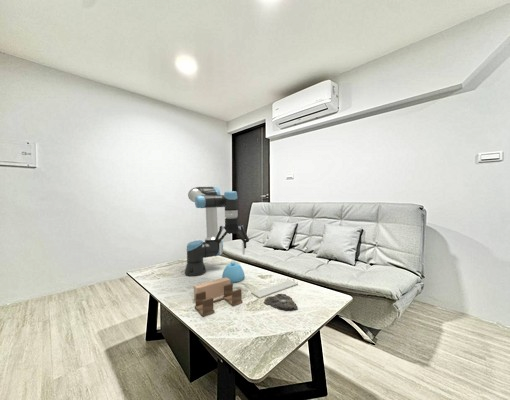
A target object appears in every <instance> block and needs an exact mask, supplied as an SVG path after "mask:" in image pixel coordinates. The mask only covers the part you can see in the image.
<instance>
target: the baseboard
mask: <svg viewBox="0 0 510 400" xmlns="http://www.w3.org/2000/svg"><path fill="white" fill-rule="evenodd" d="M298 285H299V283H298V282H296V281H295V279H292V278H291V279H287V280H285V281H282V282H280V283H276V284H273V285H270V286H267V287H263V288H261V289H258V290H254V291H251V292H250V294H251V295H253V296H254V297H256V298H258V299H260V300H261V299H263V298H267V297H269V296H272V295H274V294H276V293H277V294H278V293H279V292H282V291H284V290H287V289H291V288H293V286H294V287H297V286H298Z"/></svg>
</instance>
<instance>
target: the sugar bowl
mask: <svg viewBox="0 0 510 400" xmlns="http://www.w3.org/2000/svg"><path fill="white" fill-rule="evenodd" d="M242 267H243V266H241V264H239V263H237V262H235V261H231V262H230V263H227V265H225V268H224V269H223V272H222V275H221V276H222V277H221V278H225V277H227V278H229V279H230V284H231V283H232V284H234V283H238V282H239V283H240V282H241V281H242V280H244V278H245V271H244V269H243V268H242Z"/></svg>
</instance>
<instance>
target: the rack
mask: <svg viewBox="0 0 510 400" xmlns="http://www.w3.org/2000/svg"><path fill="white" fill-rule="evenodd" d="M233 285H234V283H230V284H228V285H224V295H223V296H222V297H221V298H218V299H217V298H216V299H215V300H214V298H209V299H206V292H205V291H203V292H200V293H196V294H195V296H196V301H195V305H194V309H195V310H196V311H197V312H198V314H200V315H201V317H202V318H203V317H204V318H205V317H206V316H210V315H211V314H215V313H216V312H215V309H214V304H215V303H218V302H221V301H225V302H226V303H227V304H229V305H230V306H232V307H234V306H237V305H240V304H243V301H244V300H243V298H242V297H243V296H242V288H238V289H236V290H235V289H234V286H233Z"/></svg>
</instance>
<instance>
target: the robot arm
mask: <svg viewBox="0 0 510 400" xmlns="http://www.w3.org/2000/svg"><path fill="white" fill-rule="evenodd" d="M187 196H188V199H189V201H190V202H193V203H194V204H195V208H196V209H205V221H206V225H205V226H206V238H204V241H203V240H200V239H199V240H194V241H190V242H189V243H187V245H186V267H185V269H184V275H185V274H186V275H185V276H187V275H188V277H199V276H202V275H204V274H206V273H207V270H206V266H205V263H204V258H205V259H206V258H210V257H218V256H221V255H222V254H223V251H224V243H223V239H224V238H225V237H226V236H227V235H230V234H233V235H235V234H236V235H237V236H238V238H239V239H240V240H241V241H242V246H241V247H242V255H245V253H246V249H247V243H249V242H250V239H249V236H248V235H247V233H246V231H245V228H244V227H245V226H244V225H239V218H238V216H239V214H238V213H239V210H238V206H239V205H238V197H239V196H238V192H237V191H236V190H235V191H234V190H232V191H231V190H229V191H227V190H226V191H224V194H221V191H220V189H219V188H218V187H217V186H197V187H193V188H191V189H190V190H189V191H188V194H187ZM218 208H224V226H223V225H220V226H218ZM218 227H219V228H218ZM223 230H225V231H224V233H223V234H222V232H223ZM239 230H240V231H241V233H242V234H241V233H240V231H239ZM221 234H222V235H221ZM220 236H221V237H220Z"/></svg>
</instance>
